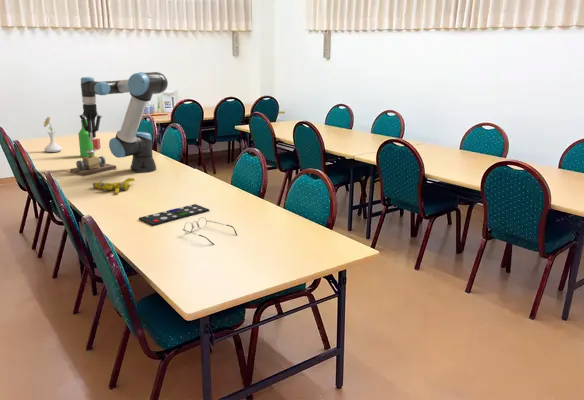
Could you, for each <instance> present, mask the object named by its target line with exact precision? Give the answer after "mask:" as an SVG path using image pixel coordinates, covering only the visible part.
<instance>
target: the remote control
mask: <svg viewBox="0 0 584 400" xmlns="http://www.w3.org/2000/svg"><path fill="white" fill-rule="evenodd" d="M209 212H210V208H207V207H204V206H201V205H199V204H197V203H193V204H191V205H190V204H189V205H185V206H180V207H178V208H177V207H176V208H172V209H168V210H166V211H165V210H164V211H161V212H157V213H152V214H148V215H144V216H140V217H138V221H141V222H143V223H145V224H147V225H149V226H152V227H155V226H158V225H162V224H166V223H170V222H175V221H176V220H182V219H186V218H189V217H193V216H196V215H200V214H204V213H209Z"/></svg>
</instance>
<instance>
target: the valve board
mask: <svg viewBox="0 0 584 400" xmlns="http://www.w3.org/2000/svg"><path fill="white" fill-rule="evenodd" d="M75 165H76V167H73V168H70V169H69V171H70V172H69V173H72V174H76V175H80V176H85V177H86V176H90V175H95V174H101V173H105V172H109V171H114V170H117V165H115V164H109V163H106V158H105V156H103V155H102V156H95V155H94V156H92V154H89V157H82V160H77V161H76V163H75Z"/></svg>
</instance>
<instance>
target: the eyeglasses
mask: <svg viewBox="0 0 584 400" xmlns="http://www.w3.org/2000/svg"><path fill="white" fill-rule="evenodd" d="M202 218H204V220H205V225H204V227H206V226H207V223H214V224H219V225H224V226H227V227H229V228H232V229H233V230H234V231H233V232H234V234H235V236H238V234H237V231H236V230H235V227H234V226H232V225H229V224H225V223H222V222H221V223H220V222H218V221H217V222H216V221H213V220H208V219H206V217H200V219H202ZM200 219H198V220H197V221H195V220H194V221H192V222H190V221H186V223H184V226H183V229H182V231H184V233H185V234H187V233H191V234H193V235H197V236H199V237H203V238H204V239H206V240H207V241H208V242H209V243H210V244H211V245H212V246H213V245H214V246H216V245H215V243H214V242H212V241H211V240H210V239H209V238H208V237H206V236H204V235H202V234H197V233H195V232H193V229H195V225H194V223H196V226H197V228H198V229H202V227H200V224H199V221H200ZM188 223H190V224H191V230H190V231H189V230H186V229H185V227H186V225H187V224H188Z"/></svg>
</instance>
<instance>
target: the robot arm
mask: <svg viewBox="0 0 584 400" xmlns="http://www.w3.org/2000/svg"><path fill="white" fill-rule="evenodd" d="M168 83H169V82H168V79H167V77H166V76H165V74H163V73H161V72H159V71H152V72H141V71H140V72H135V73H133V74H131V75H130V77H129V78H128V79H120V80H112V81H111V80H107V81H96V80H95V78H94V77H92V76H85V77H84V76H82V77H81V78H80V89H81V98H82V100H81V101H82V110H83V111H82V114H80V115H79V118H80V119H81V120H82V123H83V126H84V129H85V131H88V133H89V137H90V141H91V143H93V139H96V136H97V134H96V132H98V131H99V129H100V123H101V119H102V117H103V116H102V115H100V114H98V110H97V109H98V108H97V104H96V103H97V100H96V99H97V97H96V95H98V96H107V95H114V94H115V95H116V94H125V93H129V95H130V96H131V97H130V100H129V102H128V106H127V108H126V109H127V110H126V112H125V115H124V119H123V122H122V125H121V128H120V130H118V131H117V132H116V134H115V137H112V138H110V140H109V141H108V148H109V150H110V153H111V154H112V156H114V157H115V158H120V159H121V158H126V157H130V156H132V159H131V164H130V171H131V172H133V173H150V172H153V171H156V170H157V165H156V162H155V160H154V156H153V139H152V135H151V133H150V132H146V131H145V132H143V131H138V129H139V126H140V123H141V120H142V118H143V114H144V113H145V109H146V106H147V103H148V102H151V100H152V97H153V95H157V94H161V93H164V92H166V90H167V89H168ZM86 120H87V123H86Z"/></svg>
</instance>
